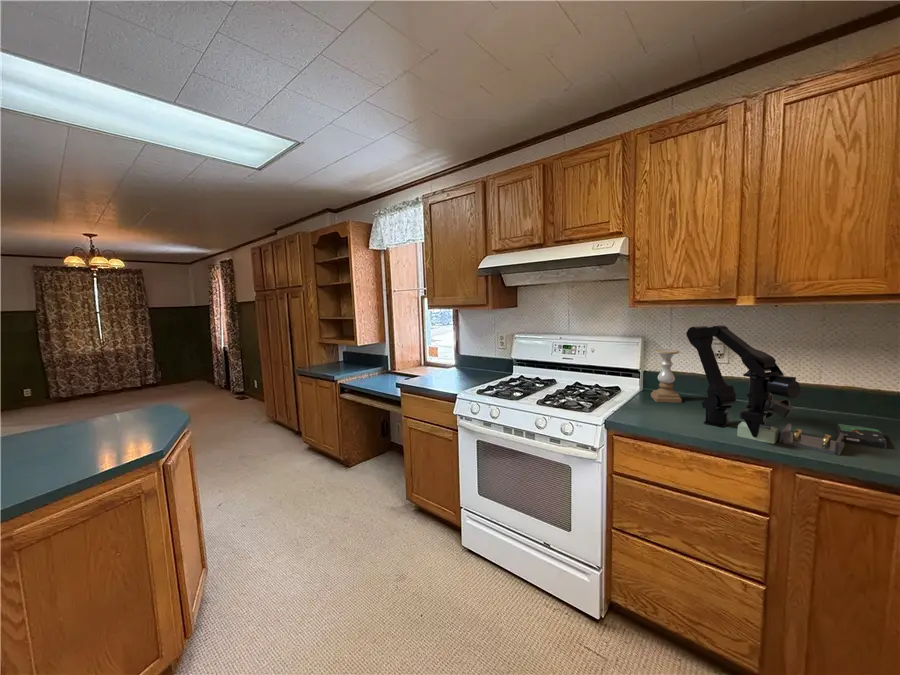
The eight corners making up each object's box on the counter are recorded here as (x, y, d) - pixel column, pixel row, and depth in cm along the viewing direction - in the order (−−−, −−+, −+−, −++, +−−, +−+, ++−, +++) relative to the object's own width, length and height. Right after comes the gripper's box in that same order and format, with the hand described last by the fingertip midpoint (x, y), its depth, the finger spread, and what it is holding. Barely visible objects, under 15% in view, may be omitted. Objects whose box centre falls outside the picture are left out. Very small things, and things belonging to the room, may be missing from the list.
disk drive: (887, 451, 116) (879, 436, 127) (888, 442, 116) (880, 428, 127) (839, 443, 123) (836, 429, 134) (840, 435, 123) (836, 422, 134)
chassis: (779, 442, 124) (780, 431, 124) (786, 434, 131) (787, 423, 131) (839, 455, 113) (840, 442, 113) (844, 445, 120) (845, 433, 120)
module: (737, 436, 131) (737, 423, 131) (741, 431, 135) (742, 419, 135) (774, 444, 124) (774, 430, 123) (777, 439, 127) (778, 426, 127)
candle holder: (656, 402, 175) (657, 352, 172) (650, 396, 185) (651, 349, 183) (682, 403, 172) (683, 352, 169) (674, 396, 182) (676, 349, 180)
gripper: (784, 401, 115) (781, 448, 117) (796, 390, 127) (794, 433, 128) (740, 394, 124) (738, 439, 126) (755, 385, 136) (753, 426, 137)
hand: (757, 434), depth 129 cm, fingers closed on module, 6 cm apart
